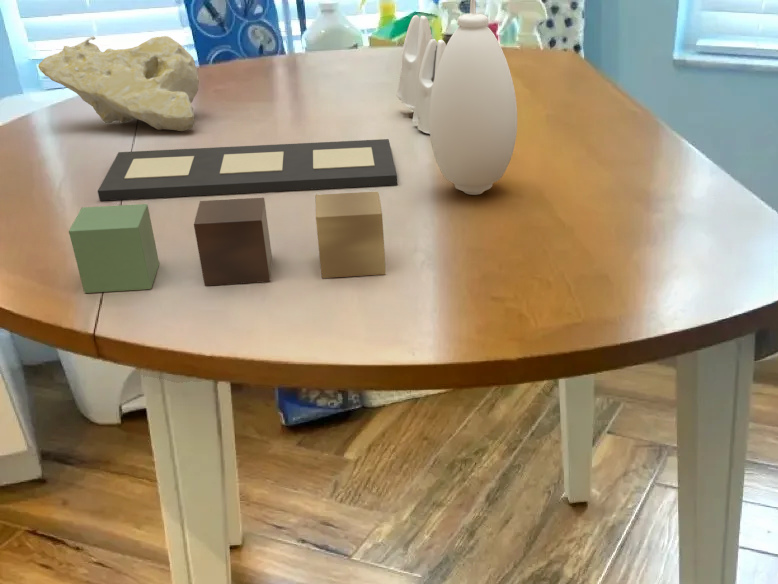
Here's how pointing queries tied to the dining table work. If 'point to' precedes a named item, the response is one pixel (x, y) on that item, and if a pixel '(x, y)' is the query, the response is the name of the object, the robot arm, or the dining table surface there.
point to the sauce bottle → (473, 107)
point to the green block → (114, 248)
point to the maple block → (350, 234)
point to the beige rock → (131, 81)
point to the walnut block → (233, 241)
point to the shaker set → (419, 70)
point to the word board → (249, 169)
